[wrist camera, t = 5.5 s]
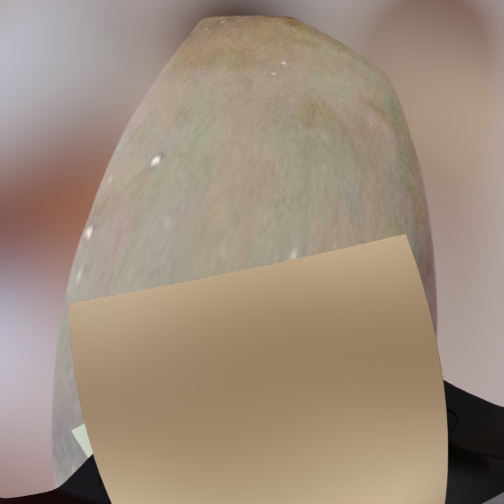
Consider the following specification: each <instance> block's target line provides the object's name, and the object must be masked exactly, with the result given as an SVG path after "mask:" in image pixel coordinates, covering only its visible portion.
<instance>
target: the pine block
mask: <svg viewBox="0 0 504 504" xmlns="http://www.w3.org/2000/svg"><path fill="white" fill-rule="evenodd" d="M69 322H70V336H71V347H72V356H73V364H74V371H75V378H76V384H77V390H78V395H79V400H80V405H81V410H82V414H83V419H84V423H85V427H86V431H87V435H88V438H89V442H90V445H91V448H92V452H93V455H94V458H95V461H96V464H97V467H98V470H99V473H100V475H101V478H102V481H103V483H104V486H105V488H106V491H107V493H108V496H109V498H110V500H111V503H112V504H445V498H446V487H447V470H448V431H447V414H446V402H445V392H444V384H443V376H442V370H441V363H440V358H439V352H438V347H437V341H436V336H435V332H434V327H433V323H432V319H431V314H430V310H429V306H428V303H427V299H426V295H425V292H424V288H423V285H422V281H421V278H420V275H419V272H418V269H417V265H416V262H415V259H414V256H413V254H412V251H411V248H410V245H409V242H408V240H407V237H406V234H404V235H400V236H396V237H392V238H387V239H383V240H379V241H374V242H370V243H366V244H361V245H357V246H352V247H348V248H343V249H339V250H334V251H330V252H325V253H321V254H316V255H312V256H307V257H303V258H298V259H293V260H289V261H284V262H279V263H275V264H270V265H265V266H260V267H256V268H251V269H246V270H241V271H236V272H232V273H227V274H222V275H217V276H212V277H207V278H202V279H197V280H192V281H187V282H182V283H177V284H172V285H166V286H161V287H156V288H151V289H146V290H140V291H135V292H130V293H125V294H119V295H114V296H108V297H103V298H97V299H92V300H86V301H81V302H75V303H69Z"/></svg>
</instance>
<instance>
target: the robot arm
mask: <svg viewBox="0 0 504 504" xmlns="http://www.w3.org/2000/svg"><path fill="white" fill-rule="evenodd" d="M443 384H444V392H445V402H446V414H447V431H448V470H447V487H446V498H445V504H504V407H501V406H498V405H495V404H493V403H490V402H488V401H486V400H484V399H481V398H479V397H477V396H474V395H472V394H470V393H467V392H466V391H463V390H462V389H459V388H457V387H455V386H453V385H452V384H450V383H448V382H446V381H444V380H443ZM0 504H112V503H111V500H110V498H109V496H108V493H107V491H106V488H105V486H104V483H103V481H102V478H101V475H100V473H99V470H98V467H97V464H96V461H95V458H94V455H93V454H92V455H91V456H90V457H89V458H88V459H87V460H86V461H85V462H84V463H83V464H82V466H81V467H80V468H79V469H78V470H77V471H76V472H75V473H74V474H73V475H72V476H71V477H70V478H69V479H68V480H67V481H66V482H65V483H64V484H62V485H61V486H60V487H58V488H56V489H54V490H52V491H48V492H44V493H39V494H34V495H28V496H22V497H15V498H0Z"/></svg>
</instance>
